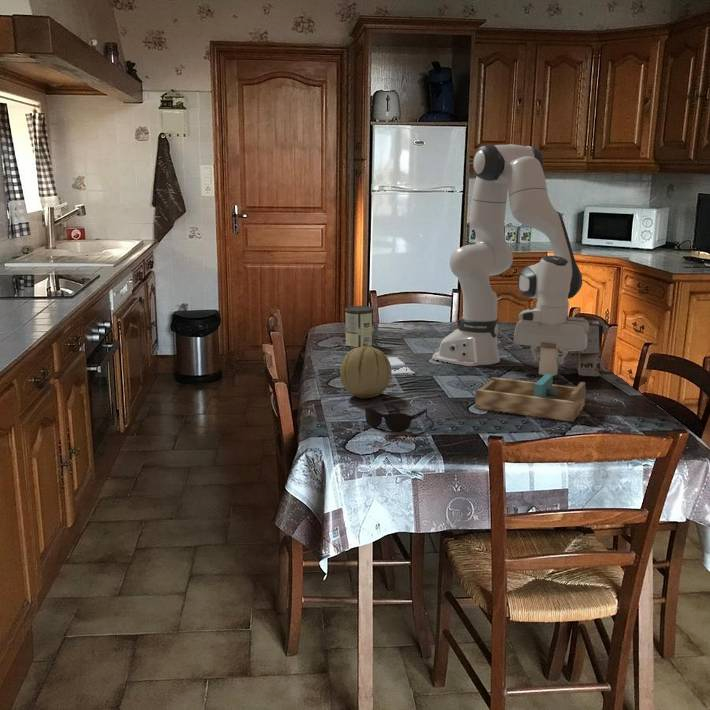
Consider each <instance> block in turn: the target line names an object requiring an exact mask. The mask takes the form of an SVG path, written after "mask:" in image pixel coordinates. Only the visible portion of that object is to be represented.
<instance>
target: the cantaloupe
mask: <svg viewBox="0 0 710 710" xmlns="http://www.w3.org/2000/svg"><path fill="white" fill-rule="evenodd" d="M363 346H365V347H358V348H354V349H350V351H348V352H347V353H346V354H345V356H344V357H343V358H342V361H341V364H340V366H339V368H340V370H339V377H340V381H341V384H342V386H343V387H344V389H345V390H346V391H347V392H349V393H350V394H351V395H352V396H354V397H356V398H360V399H364V398H366V399H370V398H375V397H378V396H379V395H381V394H383V393H384V391H386V389H387V388H388V386H389V385H390V383H391V380H392V377H393V376H392V370H391V365H390V362H389V360H388V358H387V355H386V354H385V353H384V352H383V351H382V350H380V349H379V348H376V347H369V346H368V345H367V344H365V343H363Z"/></svg>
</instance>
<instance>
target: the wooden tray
mask: <svg viewBox="0 0 710 710" xmlns="http://www.w3.org/2000/svg"><path fill="white" fill-rule="evenodd" d="M535 383H536V382H535V381H528V380H527V381H526V380H518V379H510V378H504V377H503V378H501V377H494V376H492V377H490V380H489V381H488V382H486V383H485V384H484V385H483V386H482V387H480V388H476V390H475V406H474V408H475V409H478V408H479V409H480V410H487V411H493V410H494V412H501V411H502V413H507V412H508V414H514V413H515V415H522V416H523V415H524V416H529V415H530V417H536V416H537V417H538V418H544V419H551V420H552V419H553V420H559V421H565V422H566V421H567V422H574V421H575V420H576V418H577V417H578V415H579V414H580V413H581V412H582V410H583V409H584V408H585V405H586V389H587V388H586V382H585V381H580V382H579V383H578V384H577V386H570V385H560V384H553V383H552V389H554V390H559V397H552V399H551V398H543V397H535V396H534V390H535ZM583 407H584V408H583ZM580 411H581V412H580Z"/></svg>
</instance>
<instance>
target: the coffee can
mask: <svg viewBox="0 0 710 710" xmlns="http://www.w3.org/2000/svg"><path fill="white" fill-rule="evenodd" d="M374 310H375V309H374V307H372V306H365V305H354V306H347V307H345V309H344V311H345V313H344V314H345V346H346V345H348V346H353V347H365V346H363V343H365V344H367V345H368V346H372V345H373V344H374V342H375V341H374Z"/></svg>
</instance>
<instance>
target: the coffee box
mask: <svg viewBox="0 0 710 710" xmlns="http://www.w3.org/2000/svg"><path fill="white" fill-rule="evenodd" d="M586 320H587V319H586ZM587 321H588V323H589V331H588V333H587V347H586V349H585V350H583V351H577V364H576V366H577V367H576V369H577V373H578V375H579V376H580V375H581V376H582V377H585V376H586V377H597V376H598V377H600V373H601V361H602V348H603V347H602V346H603V335H604V334H603V333H604V325H603V322H602V321H601V320H599V319H598V320H594V319H589V320H587ZM584 322H586V321H584Z"/></svg>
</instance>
